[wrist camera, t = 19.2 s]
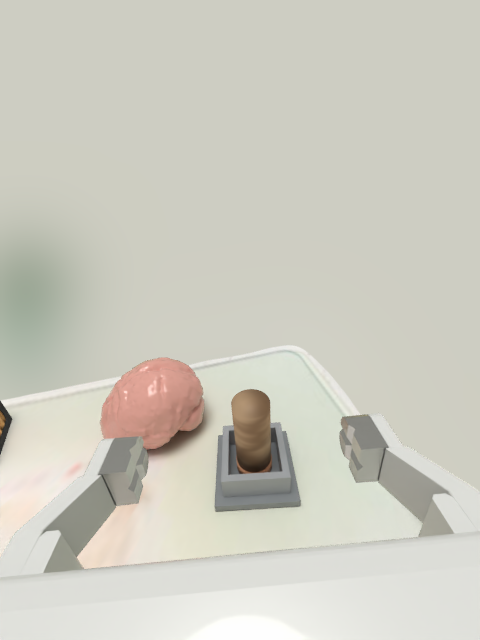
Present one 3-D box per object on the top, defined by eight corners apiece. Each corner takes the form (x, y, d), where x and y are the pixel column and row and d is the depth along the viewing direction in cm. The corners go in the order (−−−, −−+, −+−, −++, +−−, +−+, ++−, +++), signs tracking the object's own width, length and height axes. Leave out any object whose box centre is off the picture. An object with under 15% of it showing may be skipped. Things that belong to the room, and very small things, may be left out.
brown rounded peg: (237, 483, 35) (230, 420, 30) (236, 450, 39) (230, 390, 34) (274, 479, 35) (273, 416, 30) (269, 447, 39) (267, 387, 34)
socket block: (215, 511, 33) (211, 491, 31) (219, 440, 42) (216, 421, 40) (300, 506, 33) (301, 485, 31) (285, 435, 42) (286, 416, 40)
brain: (133, 487, 41) (69, 447, 34) (134, 421, 52) (85, 381, 45) (226, 428, 41) (180, 377, 35) (208, 375, 52) (171, 328, 45)
